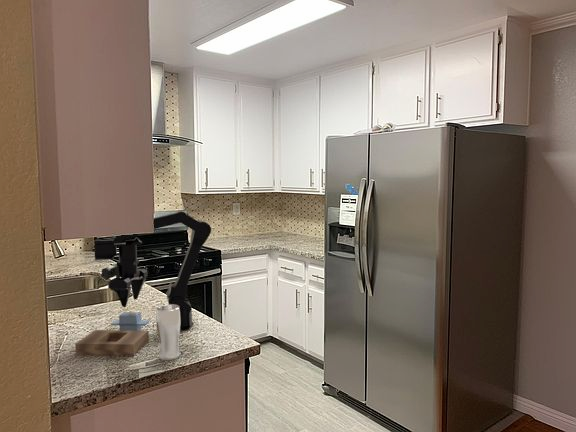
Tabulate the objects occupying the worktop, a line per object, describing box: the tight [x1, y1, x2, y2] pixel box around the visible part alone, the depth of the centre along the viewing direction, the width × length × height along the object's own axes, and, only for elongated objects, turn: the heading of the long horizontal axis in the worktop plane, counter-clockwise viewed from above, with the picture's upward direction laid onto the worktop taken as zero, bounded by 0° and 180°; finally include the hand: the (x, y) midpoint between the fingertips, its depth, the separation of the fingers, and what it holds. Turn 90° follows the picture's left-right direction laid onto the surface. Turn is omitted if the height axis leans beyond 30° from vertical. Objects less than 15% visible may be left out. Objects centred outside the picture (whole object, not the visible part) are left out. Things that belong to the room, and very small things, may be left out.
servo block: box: [110, 309, 150, 331], centre depth 150 cm, size 4×12×8 cm, turn 87°
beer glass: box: [155, 303, 181, 361], centre depth 130 cm, size 7×7×15 cm
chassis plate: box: [74, 329, 150, 357], centre depth 137 cm, size 18×12×4 cm, turn 87°
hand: (130, 303), depth 150 cm, fingers open, 9 cm apart
